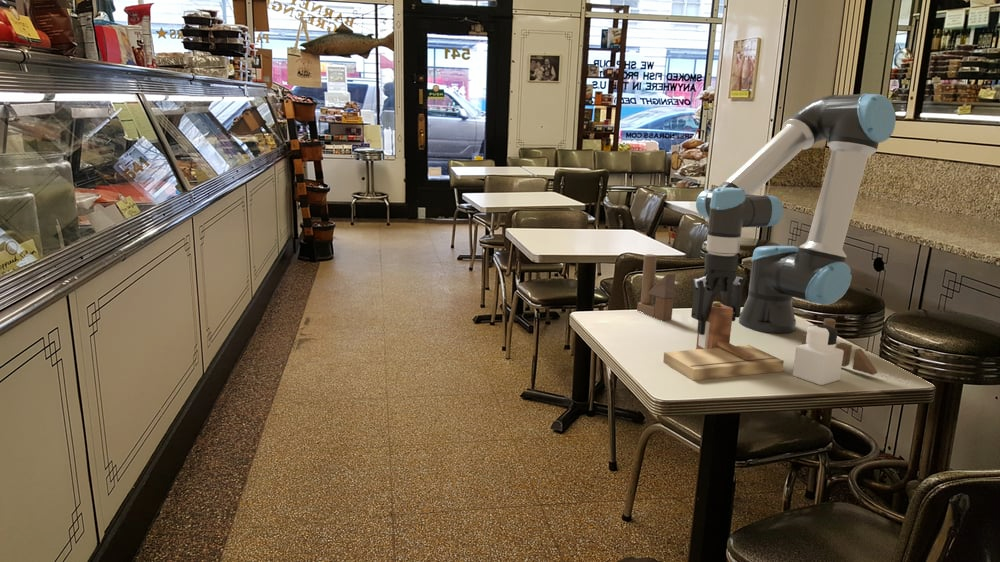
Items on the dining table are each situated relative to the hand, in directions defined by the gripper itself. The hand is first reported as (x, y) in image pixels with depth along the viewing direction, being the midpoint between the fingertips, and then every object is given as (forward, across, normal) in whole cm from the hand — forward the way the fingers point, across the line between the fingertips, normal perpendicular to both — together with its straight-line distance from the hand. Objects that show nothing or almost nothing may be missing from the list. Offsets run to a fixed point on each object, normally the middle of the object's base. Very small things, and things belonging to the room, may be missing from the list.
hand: (712, 345), depth 168 cm
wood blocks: (+2, -26, +18) cm, 32 cm away
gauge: (+2, 0, 0) cm, 2 cm away
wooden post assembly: (+2, -3, -32) cm, 32 cm away
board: (+2, +4, +10) cm, 10 cm away
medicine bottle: (+2, -12, +21) cm, 25 cm away
